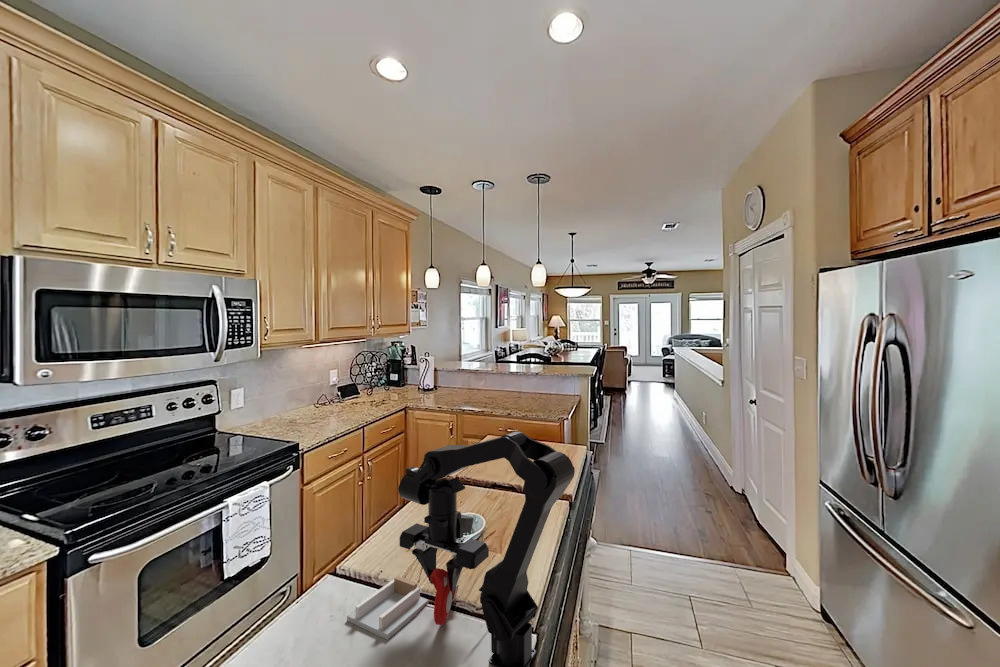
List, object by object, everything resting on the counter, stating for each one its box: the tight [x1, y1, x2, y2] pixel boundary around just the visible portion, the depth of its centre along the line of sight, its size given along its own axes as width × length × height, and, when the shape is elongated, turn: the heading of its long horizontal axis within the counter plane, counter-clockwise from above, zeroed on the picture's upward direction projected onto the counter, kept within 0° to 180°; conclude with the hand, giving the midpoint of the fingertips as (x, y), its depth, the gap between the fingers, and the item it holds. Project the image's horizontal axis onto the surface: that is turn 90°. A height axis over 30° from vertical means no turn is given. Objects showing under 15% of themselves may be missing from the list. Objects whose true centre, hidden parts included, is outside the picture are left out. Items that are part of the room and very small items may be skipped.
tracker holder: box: [430, 567, 460, 626], centre depth 87 cm, size 12×4×10 cm, turn 168°
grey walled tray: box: [346, 575, 429, 641], centre depth 88 cm, size 11×12×4 cm
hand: (443, 586), depth 87 cm, fingers closed on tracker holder, 5 cm apart
